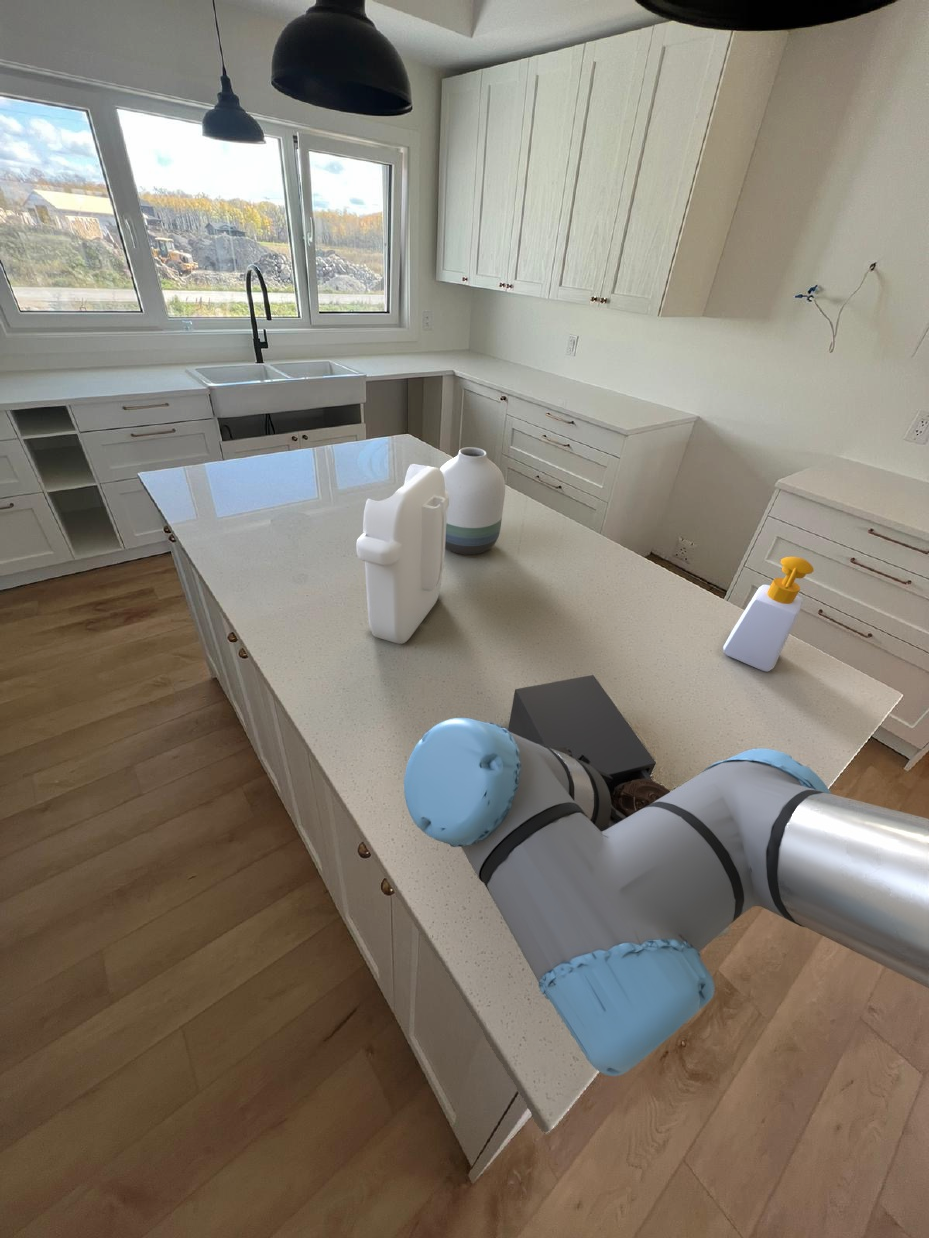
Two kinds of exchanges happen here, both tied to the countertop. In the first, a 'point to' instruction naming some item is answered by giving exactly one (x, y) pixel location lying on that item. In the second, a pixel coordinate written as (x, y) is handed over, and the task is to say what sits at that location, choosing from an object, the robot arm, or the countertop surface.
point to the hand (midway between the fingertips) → (635, 818)
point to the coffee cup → (636, 795)
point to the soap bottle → (768, 618)
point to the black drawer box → (579, 724)
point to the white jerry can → (404, 553)
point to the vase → (473, 501)
